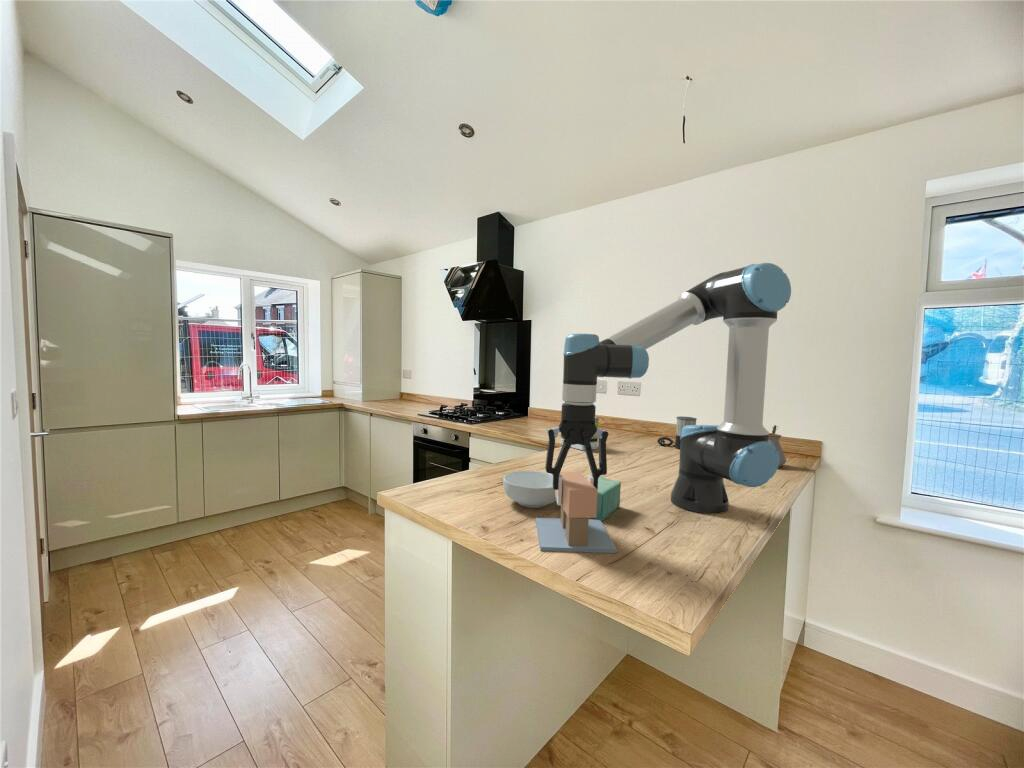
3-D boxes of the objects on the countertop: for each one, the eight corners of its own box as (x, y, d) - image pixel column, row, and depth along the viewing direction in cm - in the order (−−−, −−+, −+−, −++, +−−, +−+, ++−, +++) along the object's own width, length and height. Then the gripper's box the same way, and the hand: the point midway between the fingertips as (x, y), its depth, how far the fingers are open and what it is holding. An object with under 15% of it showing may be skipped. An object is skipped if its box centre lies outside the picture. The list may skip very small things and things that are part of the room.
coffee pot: (784, 470, 163) (787, 432, 162) (750, 465, 170) (753, 428, 169) (788, 461, 180) (791, 426, 179) (758, 456, 187) (760, 423, 186)
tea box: (598, 449, 191) (599, 417, 190) (582, 451, 185) (583, 418, 184) (575, 442, 203) (576, 412, 203) (559, 444, 198) (561, 413, 197)
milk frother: (698, 451, 195) (700, 419, 194) (664, 449, 195) (666, 418, 194) (686, 444, 209) (688, 415, 208) (654, 443, 209) (656, 414, 208)
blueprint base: (599, 522, 103) (601, 496, 103) (616, 552, 88) (618, 521, 87) (535, 520, 103) (536, 493, 103) (540, 550, 87) (541, 518, 87)
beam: (579, 495, 102) (580, 471, 102) (596, 517, 88) (597, 489, 88) (554, 496, 102) (555, 471, 101) (568, 517, 88) (569, 489, 87)
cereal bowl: (547, 519, 105) (548, 491, 104) (491, 505, 113) (491, 480, 112) (571, 500, 120) (572, 476, 119) (520, 489, 128) (521, 466, 127)
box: (574, 514, 109) (576, 486, 108) (595, 501, 120) (596, 475, 119) (601, 522, 104) (603, 492, 104) (620, 507, 116) (621, 481, 115)
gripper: (617, 402, 97) (612, 499, 99) (534, 399, 97) (531, 497, 99) (626, 406, 90) (620, 511, 91) (537, 403, 90) (532, 508, 91)
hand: (574, 503), depth 95 cm, fingers closed on beam, 6 cm apart
